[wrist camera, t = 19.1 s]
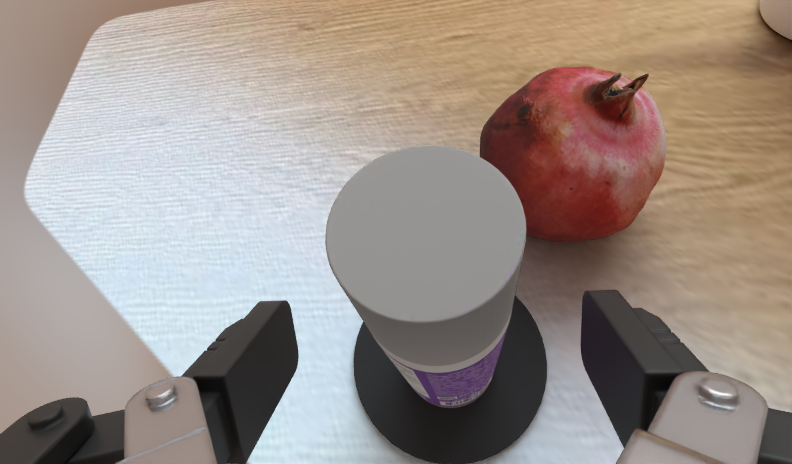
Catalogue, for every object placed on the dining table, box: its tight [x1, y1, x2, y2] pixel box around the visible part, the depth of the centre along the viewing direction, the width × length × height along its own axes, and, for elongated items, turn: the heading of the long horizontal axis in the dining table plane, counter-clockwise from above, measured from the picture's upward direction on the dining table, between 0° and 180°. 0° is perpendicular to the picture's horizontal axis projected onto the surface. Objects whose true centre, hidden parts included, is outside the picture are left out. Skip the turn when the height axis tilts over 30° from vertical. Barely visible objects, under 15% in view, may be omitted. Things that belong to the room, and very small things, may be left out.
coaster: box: [354, 296, 547, 464], centre depth 23 cm, size 10×10×1 cm
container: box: [326, 145, 526, 408], centre depth 16 cm, size 5×5×15 cm
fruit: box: [480, 67, 666, 242], centre depth 22 cm, size 9×10×10 cm
